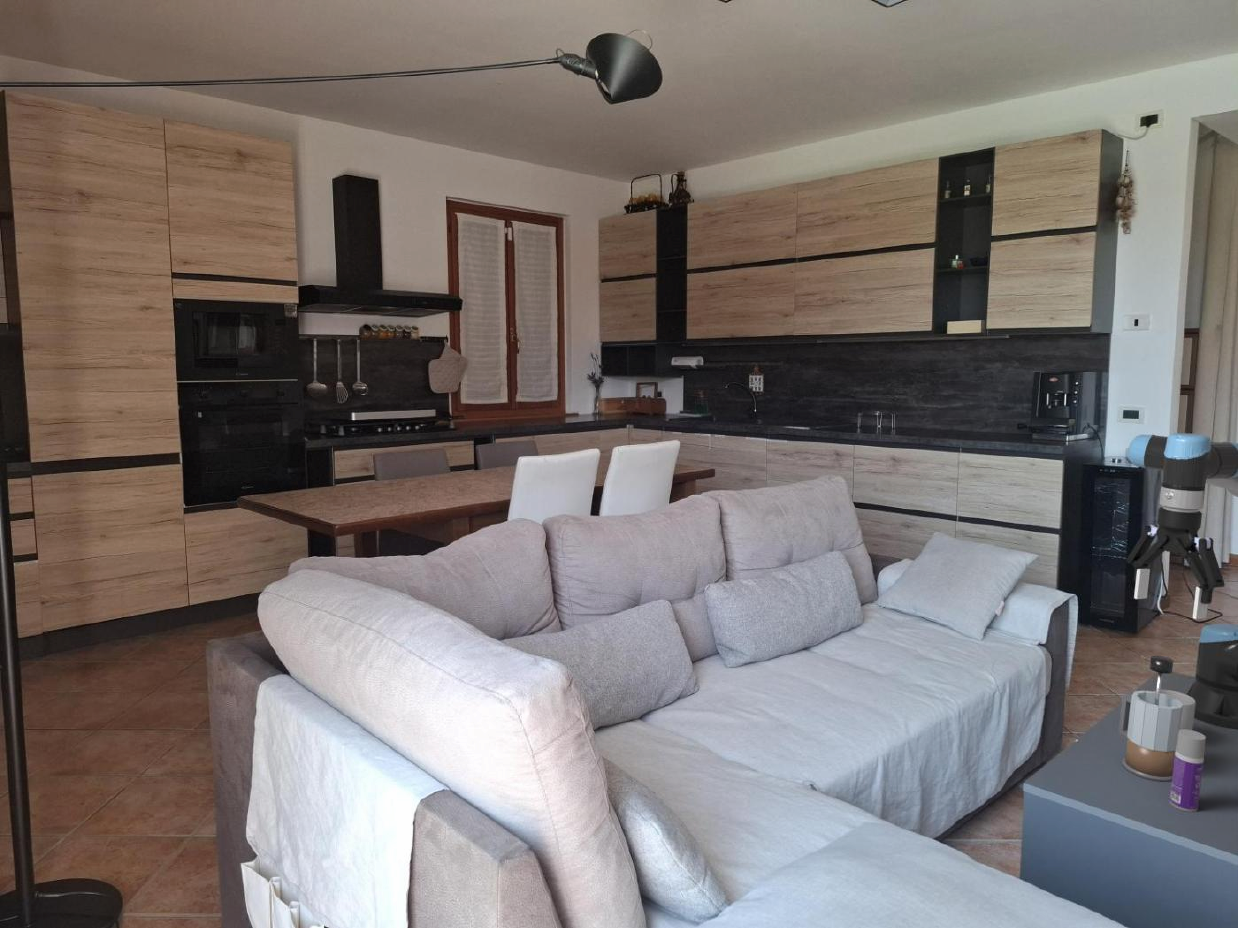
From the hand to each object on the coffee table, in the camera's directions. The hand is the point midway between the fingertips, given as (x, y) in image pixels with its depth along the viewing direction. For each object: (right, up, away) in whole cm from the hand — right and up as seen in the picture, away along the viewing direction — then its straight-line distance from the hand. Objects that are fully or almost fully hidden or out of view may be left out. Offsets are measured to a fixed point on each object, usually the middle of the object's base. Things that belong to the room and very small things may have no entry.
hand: (1168, 607), depth 175 cm
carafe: (-1, -36, +6) cm, 36 cm away
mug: (+13, -34, +20) cm, 42 cm away
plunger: (-1, -28, +4) cm, 29 cm away
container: (-3, -38, -9) cm, 39 cm away
